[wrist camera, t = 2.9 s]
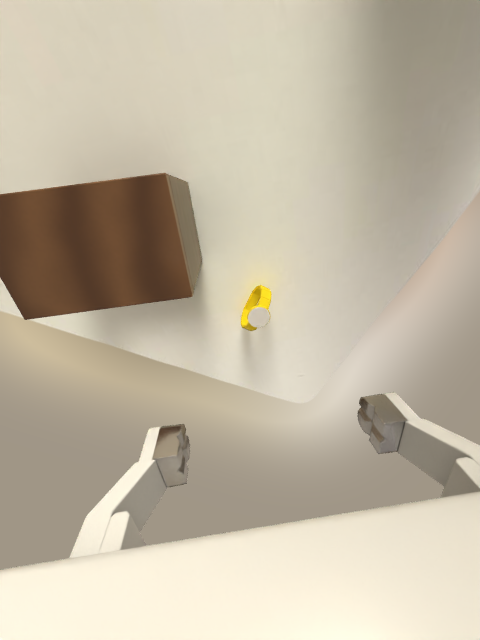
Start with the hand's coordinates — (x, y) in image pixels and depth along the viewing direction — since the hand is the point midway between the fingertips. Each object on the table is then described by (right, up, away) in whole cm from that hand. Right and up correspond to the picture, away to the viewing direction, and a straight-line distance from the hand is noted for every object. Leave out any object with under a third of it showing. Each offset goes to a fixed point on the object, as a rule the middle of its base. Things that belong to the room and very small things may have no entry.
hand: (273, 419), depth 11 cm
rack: (-14, +15, +19) cm, 28 cm away
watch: (0, +7, +24) cm, 25 cm away
